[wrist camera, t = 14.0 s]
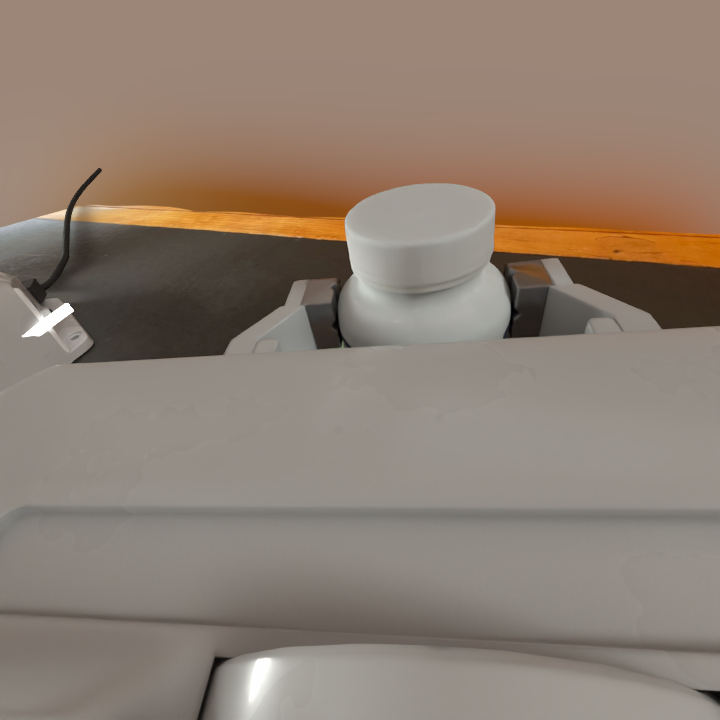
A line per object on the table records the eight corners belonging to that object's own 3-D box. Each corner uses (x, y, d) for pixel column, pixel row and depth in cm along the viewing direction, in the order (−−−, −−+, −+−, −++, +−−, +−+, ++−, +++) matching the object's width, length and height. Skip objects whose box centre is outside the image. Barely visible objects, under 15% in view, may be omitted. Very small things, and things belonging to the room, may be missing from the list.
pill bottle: (417, 371, 20) (404, 165, 13) (517, 424, 17) (565, 187, 10) (339, 441, 17) (277, 228, 11) (440, 518, 14) (438, 283, 8)
